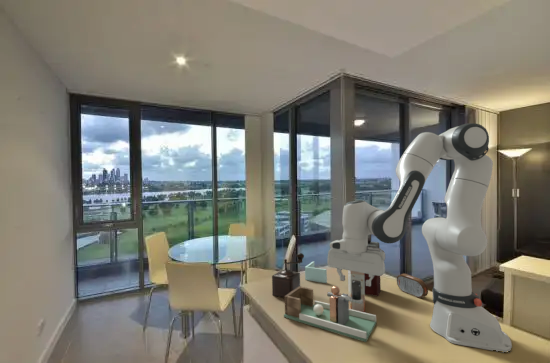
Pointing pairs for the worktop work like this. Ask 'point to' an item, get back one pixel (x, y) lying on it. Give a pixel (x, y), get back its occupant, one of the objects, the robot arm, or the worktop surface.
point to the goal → (298, 300)
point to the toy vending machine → (375, 282)
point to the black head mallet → (335, 295)
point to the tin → (412, 285)
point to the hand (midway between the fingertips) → (355, 283)
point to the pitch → (339, 320)
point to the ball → (318, 309)
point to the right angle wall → (315, 273)
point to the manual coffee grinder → (286, 279)
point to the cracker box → (360, 277)
